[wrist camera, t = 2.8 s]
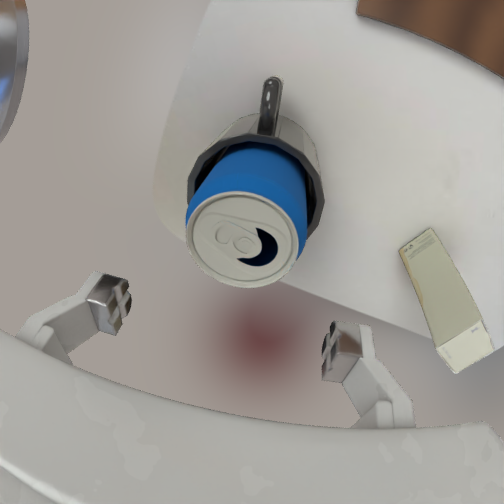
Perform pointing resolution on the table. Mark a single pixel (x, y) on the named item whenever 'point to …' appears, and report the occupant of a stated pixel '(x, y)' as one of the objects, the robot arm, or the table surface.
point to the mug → (269, 132)
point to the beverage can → (249, 216)
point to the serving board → (449, 25)
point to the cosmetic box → (446, 303)
